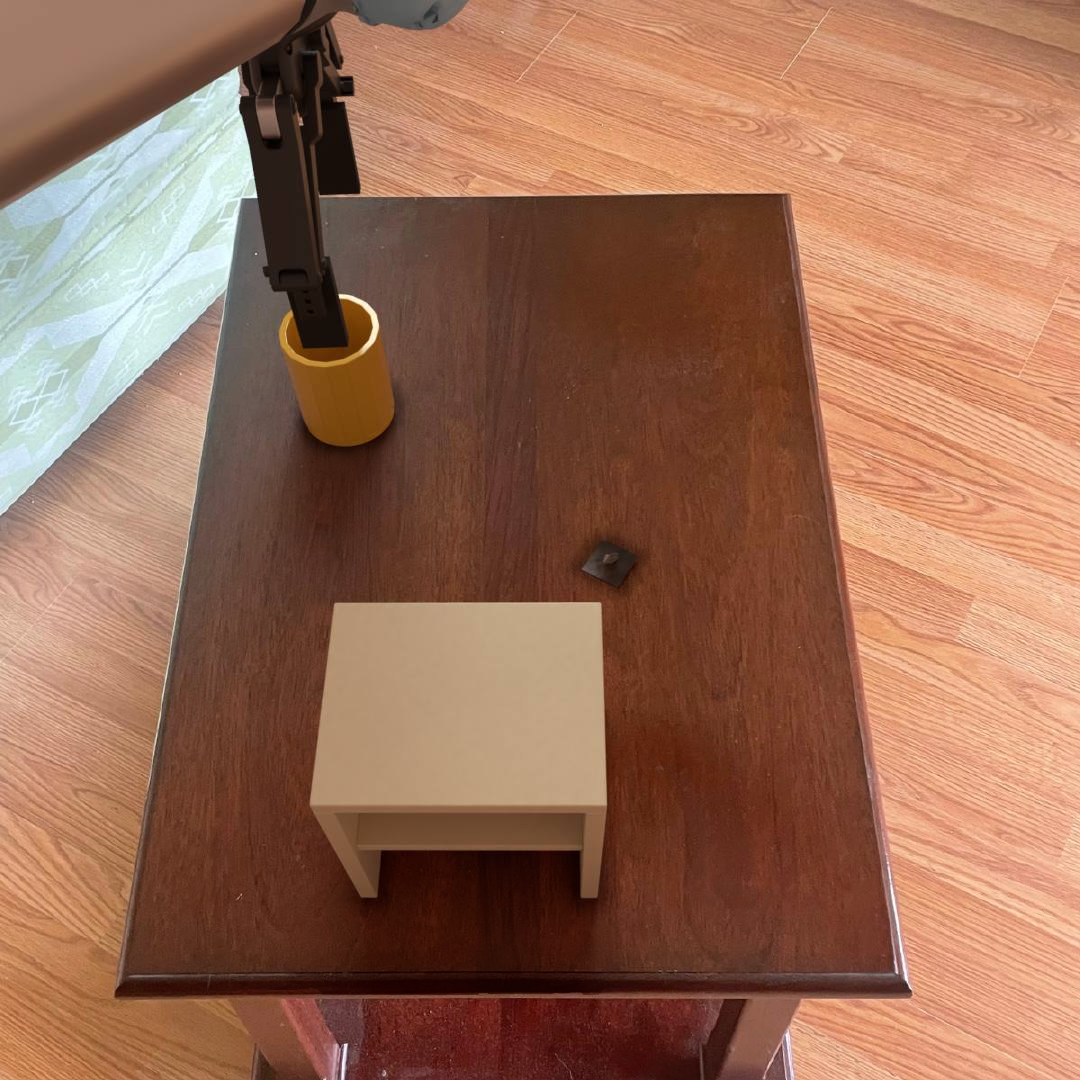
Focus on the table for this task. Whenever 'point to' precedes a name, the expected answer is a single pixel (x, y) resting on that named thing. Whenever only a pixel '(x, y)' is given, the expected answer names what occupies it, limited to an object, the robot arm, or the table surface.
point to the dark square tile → (610, 563)
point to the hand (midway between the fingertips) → (333, 263)
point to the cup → (342, 379)
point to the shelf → (462, 732)
